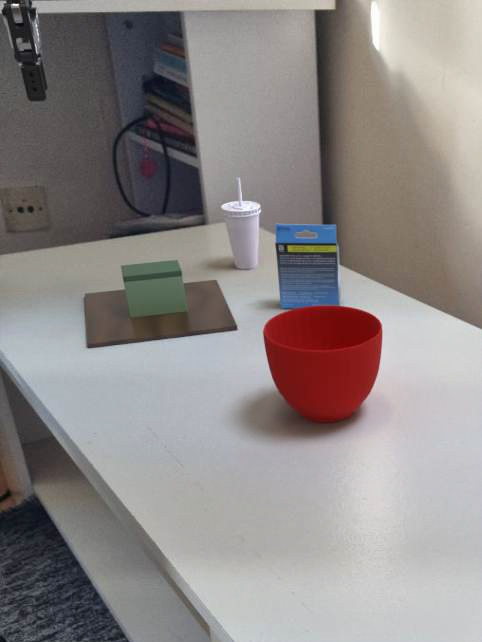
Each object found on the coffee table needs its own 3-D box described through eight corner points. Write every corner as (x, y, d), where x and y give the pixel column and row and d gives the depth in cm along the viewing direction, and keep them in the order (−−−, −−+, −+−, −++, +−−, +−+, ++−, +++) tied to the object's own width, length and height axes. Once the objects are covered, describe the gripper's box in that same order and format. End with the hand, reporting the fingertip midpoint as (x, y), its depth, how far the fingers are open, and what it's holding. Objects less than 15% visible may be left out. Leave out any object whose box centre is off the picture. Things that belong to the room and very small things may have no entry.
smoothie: (229, 273, 131) (219, 183, 123) (225, 261, 136) (215, 174, 128) (268, 269, 133) (260, 180, 125) (262, 258, 138) (255, 171, 130)
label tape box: (341, 300, 121) (338, 216, 114) (339, 310, 118) (336, 224, 111) (283, 299, 121) (277, 216, 114) (280, 309, 118) (273, 224, 111)
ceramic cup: (403, 377, 100) (404, 299, 94) (364, 443, 86) (362, 357, 81) (305, 365, 102) (300, 289, 97) (252, 428, 89) (243, 343, 83)
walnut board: (88, 348, 107) (87, 343, 107) (85, 297, 123) (84, 293, 122) (237, 329, 112) (237, 325, 112) (216, 283, 128) (216, 279, 127)
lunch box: (187, 311, 116) (181, 270, 113) (130, 318, 114) (122, 276, 111) (183, 299, 120) (177, 259, 117) (128, 305, 118) (120, 265, 115)
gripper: (-26, -59, 99) (10, 89, 108) (-37, -59, 88) (4, 106, 97) (39, -59, 100) (69, 87, 110) (36, -60, 89) (69, 102, 99)
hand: (38, 95), depth 103 cm, fingers open, 8 cm apart
